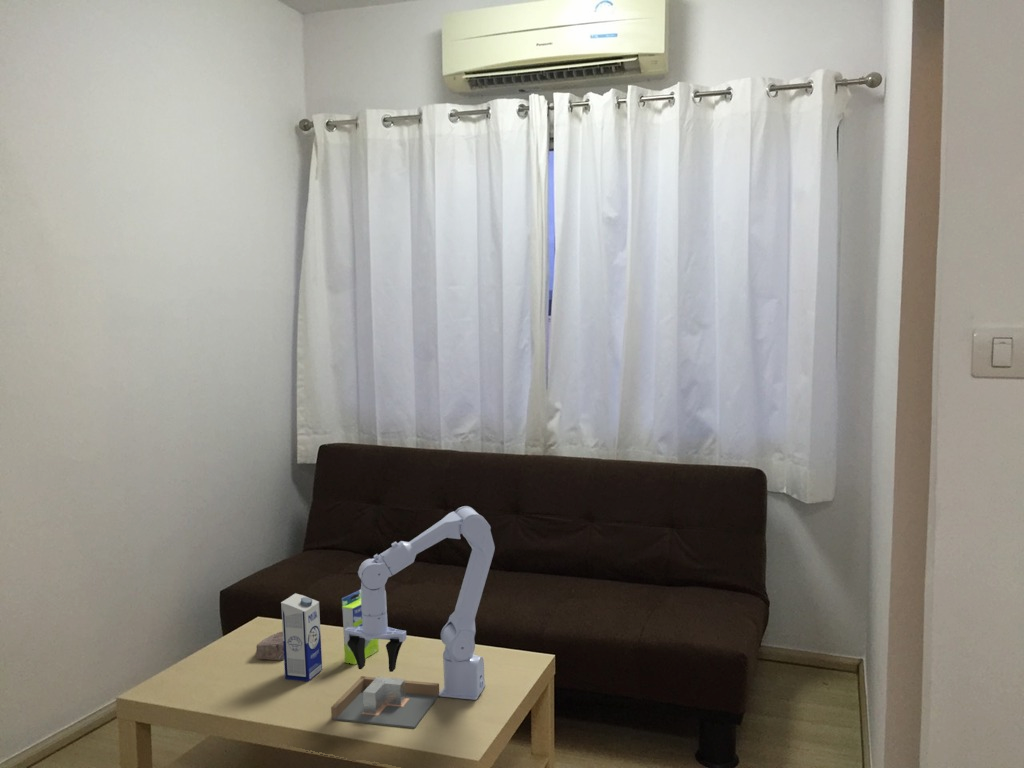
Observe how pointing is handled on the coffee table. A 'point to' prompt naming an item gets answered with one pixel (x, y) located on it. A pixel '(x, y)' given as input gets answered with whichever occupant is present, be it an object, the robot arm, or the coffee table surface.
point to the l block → (383, 694)
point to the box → (354, 619)
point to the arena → (387, 705)
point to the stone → (271, 647)
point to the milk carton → (301, 637)
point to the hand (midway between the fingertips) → (377, 668)
